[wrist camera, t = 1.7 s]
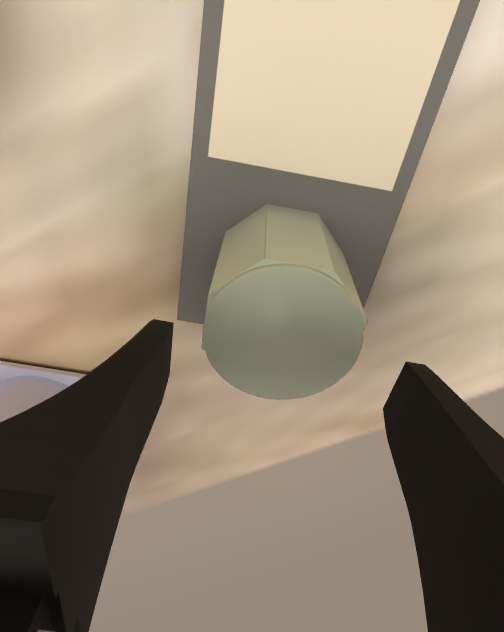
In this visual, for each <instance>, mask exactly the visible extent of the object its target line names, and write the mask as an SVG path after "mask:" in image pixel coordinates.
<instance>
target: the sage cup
mask: <svg viewBox="0 0 504 632" xmlns="http://www.w3.org/2000/svg"><path fill="white" fill-rule="evenodd" d="M366 323H367V319H366V316H365V313H364V310H363V307H362V305H361V302H360V299H359V296H358V293H357V291H356V288H355V285H354V282H353V279H352V277H351V274H350V271H349V268H348V265H347V262H346V260H345V257H344V254H343V252H342V250H341V249H340V247H339V246H338V244H337V242H336V241H335V239H334V238H333V236H332V234H331V233H330V231H329V230H328V228H327V227H326V225H325V223H324V222H323V220H322V219H321V217H320V215H319V214H318V213H314V212H309V211H303V210H298V209H292V208H287V207H282V206H276V205H271V204H266V205H264V206H263V207H261V208H260V209H259V210H257V211H256V212H254V213H253V214H251V215H250V216H248V217H247V218H245V219H244V220H242V221H241V222H239V223H238V224H236V225H235V226H234V227H232V228H231V229H229V230H228V231H226V232H225V235H224V239H223V243H222V246H221V250H220V254H219V257H218V261H217V264H216V268H215V272H214V275H213V279H212V283H211V286H210V290H209V293H208V300H207V308H206V316H205V321H204V326H203V339H202V348H203V349H204V350H205V352H206V355H207V357H208V359H209V361H210V363H211V364H212V366H213V368H214V369H215V370H216V371H217V372H218V374H219V375H220V376H221V377H222V378H224V379H225V380H226V381H227V382H228V383H230V384H231V385H233V386H234V387H236V388H238V389H240V390H242V391H244V392H246V393H249V394H252V395H255V396H258V397H263V398H268V399H296V398H302V397H306V396H310V395H313V394H316V393H318V392H321V391H323V390H325V389H327V388H329V387H330V386H332V385H333V384H335V383H336V382H338V381H339V380H340V379H341V378H342V377H344V376H345V375H346V374H347V372H348V371H349V370H350V369H351V368H352V366H353V365H354V363H355V362H356V360H357V358H358V356H359V353H360V350H361V347H362V341H363V331H364V328H365V326H366Z"/></svg>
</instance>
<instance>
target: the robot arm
mask: <svg viewBox="0 0 504 632" xmlns="http://www.w3.org/2000/svg"><path fill="white" fill-rule="evenodd" d="M172 336H173V322H167V321H161V320H155V319H153V320H151V321H150V322H149V323H148V324H147V325H146V326H145V327H144V328H142V329H141V330H140V331H139V332H138V333H137V334H136V335H135V336H134V337H133V338H132V339H131V340H129V341H128V342H127V343H126V344H125V345H124V346H123V347H121V348H120V349H119V350H118V351H117V352H115V353H114V354H113V355H112V356H111V357H109V358H108V359H107V360H106V361H104V362H103V363H102V364H100V365H99V366H98V367H96V368H95V369H93V370H92V371H91V372H89V373H88V374H81V373H75V372H68V371H62V370H56V369H49V368H43V367H36V366H30V365H24V364H17V363H11V362H5V361H0V632H88V631H89V628H90V624H91V620H92V616H93V612H94V609H95V605H96V601H97V597H98V593H99V590H100V586H101V582H102V579H103V575H104V571H105V568H106V564H107V560H108V557H109V553H110V550H111V546H112V543H113V539H114V536H115V532H116V529H117V525H118V521H119V518H120V515H121V511H122V508H123V505H124V501H125V498H126V495H127V491H128V488H129V485H130V481H131V478H132V476H133V473H134V470H135V467H136V465H137V462H138V460H139V457H140V455H141V453H142V450H143V448H144V445H145V443H146V440H147V438H148V435H149V433H150V431H151V428H152V426H153V423H154V421H155V418H156V416H157V413H158V411H159V408H160V406H161V403H162V400H163V396H164V393H165V389H166V385H167V382H168V378H169V374H170V362H171V349H172ZM383 412H384V420H385V427H386V433H387V439H388V443H389V446H390V450H391V453H392V457H393V460H394V464H395V467H396V470H397V474H398V477H399V481H400V484H401V487H402V491H403V494H404V497H405V501H406V504H407V507H408V511H409V516H410V520H411V524H412V529H413V534H414V540H415V546H416V551H417V556H418V562H419V568H420V575H421V582H422V588H423V595H424V603H425V611H426V619H427V627H428V632H504V438H503V437H502V436H500V435H499V434H498V433H497V432H496V431H495V430H493V429H492V428H491V427H490V426H489V425H488V424H487V423H486V422H485V421H484V420H483V419H482V418H480V417H479V416H478V415H477V414H476V413H475V412H474V411H473V410H472V409H471V408H470V407H469V406H468V405H467V404H466V403H465V402H464V401H463V400H462V399H461V398H460V397H459V396H458V395H457V394H456V393H455V392H454V391H453V390H452V389H451V388H450V387H448V386H447V385H446V384H445V383H444V382H443V381H442V380H441V379H440V378H439V377H438V376H437V375H436V374H435V373H434V372H433V371H432V370H431V369H429V368H428V367H427V366H426V365H423V364H417V363H411V362H405V365H404V367H403V369H402V371H401V373H400V375H399V377H398V379H397V381H396V383H395V385H394V387H393V389H392V391H391V393H390V395H389V397H388V399H387V401H386V403H385V405H384V407H383Z"/></svg>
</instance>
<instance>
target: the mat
mask: <svg viewBox="0 0 504 632" xmlns="http://www.w3.org/2000/svg"><path fill="white" fill-rule="evenodd" d="M479 2H480V0H204V9H203V21H202V32H201V44H200V56H199V68H198V80H197V92H196V104H195V115H194V127H193V139H192V151H191V163H190V175H189V187H188V198H187V210H186V222H185V234H184V246H183V258H182V270H181V281H180V293H179V305H178V317H177V320H182V321H188V322H194V323H200V324H204V321H205V316H206V308H207V300H208V293H209V290H210V286H211V283H212V279H213V275H214V272H215V268H216V264H217V261H218V257H219V254H220V250H221V246H222V243H223V239H224V235H225V232H226V231H228V230H229V229H231V228H232V227H234V226H235V225H236V224H238V223H239V222H241V221H242V220H244V219H245V218H247V217H248V216H250V215H251V214H253V213H254V212H256V211H257V210H259V209H260V208H261V207H263V206H264V205H266V204H271V205H276V206H282V207H287V208H292V209H298V210H303V211H309V212H314V213H318V214H319V215H320V217H321V219H322V220H323V222H324V223H325V225H326V227H327V228H328V230H329V231H330V233H331V234H332V236H333V238H334V239H335V241H336V242H337V244H338V246H339V247H340V249H341V250H342V252H343V254H344V257H345V260H346V262H347V265H348V268H349V271H350V274H351V277H352V279H353V282H354V285H355V288H356V291H357V293H358V296H359V299H360V302H361V305H362V307H363V308H364V305H365V303H366V300H367V298H368V295H369V292H370V290H371V287H372V284H373V282H374V279H375V276H376V274H377V271H378V268H379V266H380V263H381V261H382V258H383V255H384V253H385V250H386V247H387V245H388V242H389V239H390V237H391V234H392V231H393V229H394V226H395V224H396V221H397V218H398V216H399V213H400V210H401V208H402V205H403V202H404V200H405V197H406V194H407V192H408V189H409V187H410V184H411V181H412V179H413V176H414V173H415V171H416V168H417V165H418V163H419V160H420V157H421V155H422V152H423V150H424V147H425V144H426V142H427V139H428V136H429V134H430V131H431V128H432V126H433V123H434V120H435V118H436V115H437V113H438V110H439V107H440V105H441V102H442V99H443V97H444V94H445V91H446V89H447V86H448V83H449V81H450V78H451V76H452V73H453V70H454V68H455V65H456V62H457V60H458V57H459V54H460V52H461V49H462V46H463V44H464V41H465V39H466V36H467V33H468V31H469V28H470V25H471V23H472V20H473V17H474V15H475V12H476V9H477V7H478V4H479Z"/></svg>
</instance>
